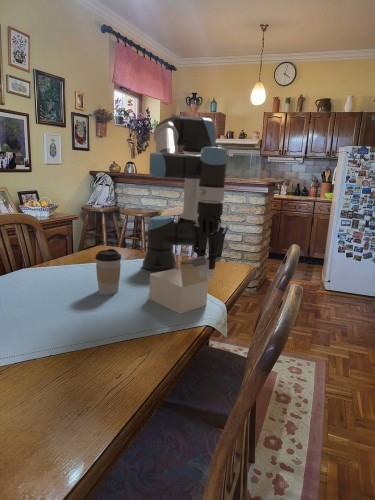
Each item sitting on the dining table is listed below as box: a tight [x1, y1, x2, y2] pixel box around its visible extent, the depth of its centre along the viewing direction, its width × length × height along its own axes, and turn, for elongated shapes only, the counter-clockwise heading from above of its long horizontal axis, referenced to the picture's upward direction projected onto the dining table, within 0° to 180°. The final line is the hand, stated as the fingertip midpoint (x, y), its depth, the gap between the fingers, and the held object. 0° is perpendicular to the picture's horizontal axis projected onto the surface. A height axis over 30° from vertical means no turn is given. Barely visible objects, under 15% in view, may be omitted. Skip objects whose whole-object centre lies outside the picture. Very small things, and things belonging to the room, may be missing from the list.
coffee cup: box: [94, 248, 122, 295], centre depth 127 cm, size 9×9×15 cm
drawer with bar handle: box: [179, 256, 222, 287], centre depth 111 cm, size 11×8×8 cm
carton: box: [149, 268, 209, 315], centre depth 121 cm, size 12×17×9 cm
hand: (205, 277), depth 110 cm, fingers closed on drawer with bar handle, 2 cm apart
